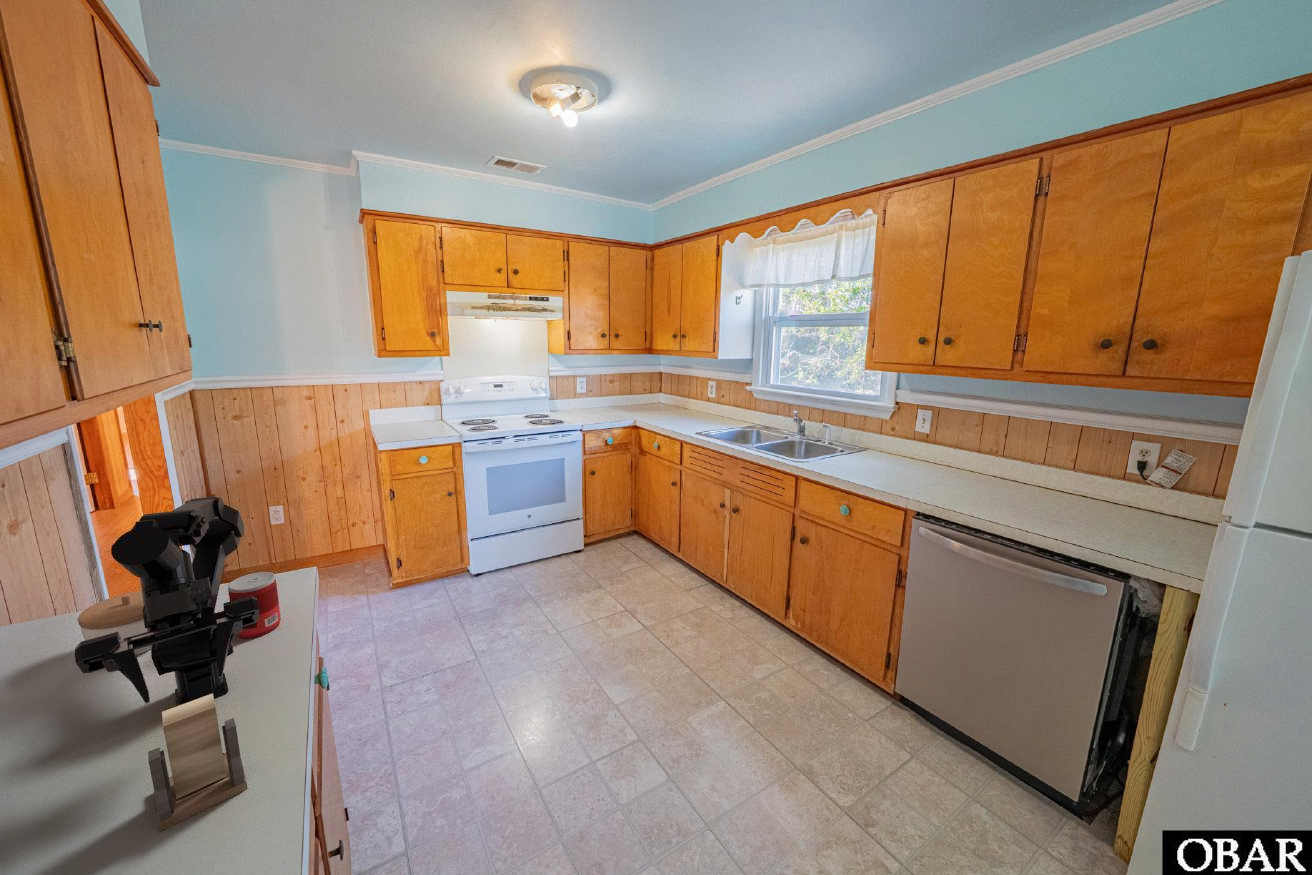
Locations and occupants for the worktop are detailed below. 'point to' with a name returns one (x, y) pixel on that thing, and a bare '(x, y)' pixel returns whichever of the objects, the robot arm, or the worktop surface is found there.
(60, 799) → the worktop surface
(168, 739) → the curved wooden panel
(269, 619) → the canned food
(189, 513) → the robot arm
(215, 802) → the wooden phone stand
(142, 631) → the lidded bowl
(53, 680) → the worktop surface
